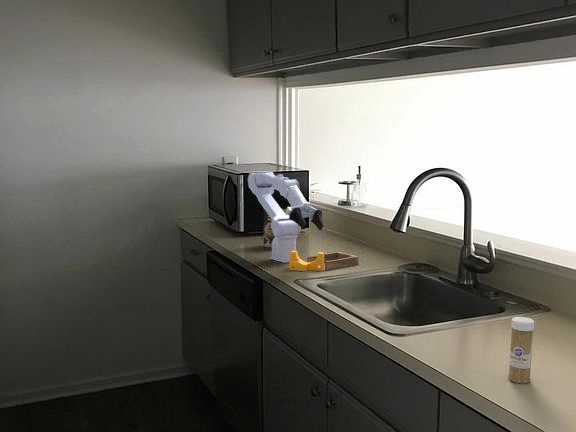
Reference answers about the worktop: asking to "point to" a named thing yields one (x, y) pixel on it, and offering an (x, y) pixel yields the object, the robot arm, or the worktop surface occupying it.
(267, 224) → the coffee box
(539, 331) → the worktop surface
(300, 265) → the pipe clamp
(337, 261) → the brown wooden tray
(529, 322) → the sprinkles bottle
